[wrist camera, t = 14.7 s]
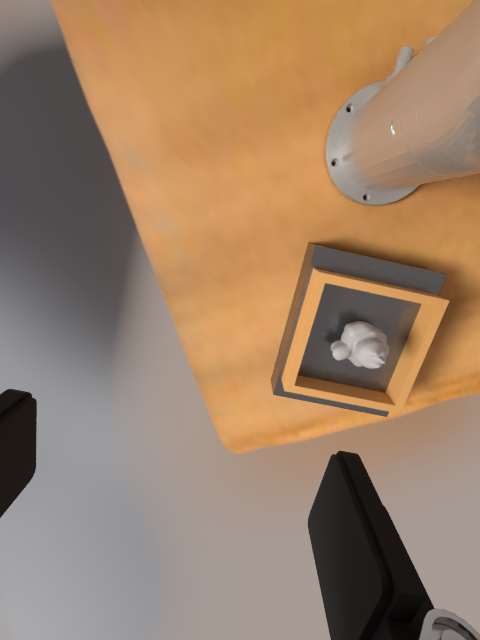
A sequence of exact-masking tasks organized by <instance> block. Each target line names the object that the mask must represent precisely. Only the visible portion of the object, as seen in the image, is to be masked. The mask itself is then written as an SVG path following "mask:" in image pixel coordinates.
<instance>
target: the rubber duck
mask: <svg viewBox="0 0 480 640" xmlns="http://www.w3.org/2000/svg"><path fill="white" fill-rule="evenodd" d="M386 343H387V339H386V335H385V334H384V333H383V332H382V331H381V330H380V329H378V328H376V327H375V326H373V325H371V324H369V323H367V322H363V321H356V322H353V323H349V324H347V325H346V326H345V328H344V332H343V333H342V336H341V340H337V341H335V342H333V343H332V345H331V351H333V352H332V355H333V357H334V358H335V359H336V360H338V361H339V360H344V359H346V358H348V359H349V360H350V361H351V362H352V363H353V364H354V365H355V366H357V367H361V366H364V367H366V368H370V369H373V368H380V367H381V366H382V365H383V364H386V363H385V361H386V358H387V356H388V354H389V346H388V345H387V344H386Z"/></svg>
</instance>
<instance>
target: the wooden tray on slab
mask: <svg viewBox="0 0 480 640" xmlns="http://www.w3.org/2000/svg"><path fill="white" fill-rule="evenodd" d="M446 276H447V275H446V274H442V273H439V272H436V271H432V270H429V269H425V268H420V267H416V266H411V265H407V264H402V263H398V262H393V261H389V260H384V259H380V258H375V257H371V256H366V255H362V254H357V253H353V252H348V251H344V250H339V249H335V248H330V247H326V246H321V245H317V244H312V243H308V247H307V250H306V254H305V257H304V261H303V265H302V268H301V272H300V276H299V279H298V283H297V287H296V290H295V294H294V298H293V301H292V305H291V308H290V312H289V316H288V319H287V323H286V327H285V330H284V334H283V338H282V341H281V345H280V349H279V352H278V356H277V359H276V363H275V367H274V370H273V374H272V378H271V384H272V390H273V395H278V396H283V397H288V398H293V399H298V400H303V401H309V402H314V403H319V404H324V405H329V406H334V407H339V408H344V409H349V410H355V411H360V412H365V413H370V414H375V415H380V416H385V417H387V415H388V413H389V412H393V413H398V414H400V413H401V411H402V409H403V407H404V404H405V402H406V400H407V397H408V395H409V393H410V391H411V388H412V386H413V384H414V381H415V379H416V377H417V374H418V372H419V370H420V368H421V365H422V363H423V361H424V358H425V356H426V354H427V352H428V349H429V347H430V345H431V342H432V340H433V338H434V335H435V333H436V331H437V329H438V326H439V324H440V322H441V319H442V317H443V315H444V313H445V310H446V308H447V306H448V303H449V300H447V299H445V298H442V297H440V296H438V295H439V292H440V290H441V287H442V285H443V283H444V280H445V278H446ZM356 321H363V322H367V323H369V324H371V325H373V326H375V327H376V328H378V329H380V330H381V331H382V332H383V333H384V334H385V335H386V339H387V343H386V344H387V345H388V346H389V354H388V356H387V358H386V361H385V363H386V364H383V365H382V366H381V367H380V368H373V369H370V368H366V367H364V366H361V367H357V366H355V365H354V364H353V363H352V362H351V361H350V360H349V359H348V358H346V359H344V360H339V361H338V360H336V359H335V358H334V357H333V355H332V352H333V351H331V345H332V343H333V342H335V341H337V340H341V336H342V333H343V332H344V328H345V326H346V325H347V324H349V323H353V322H356Z"/></svg>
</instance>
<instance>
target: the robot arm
mask: <svg viewBox="0 0 480 640" xmlns="http://www.w3.org/2000/svg"><path fill="white" fill-rule="evenodd" d="M413 51H414V50H413V48H411V47H402V48H400V49H399V52H398V56H397V59H396V62H395V68H394V71H393V74H392V75H389V76H388V77H387V78H386V79H385V80H384V81H378V82H375V83H372V84H370V85H367V86H365V87H364V88H362V89H360V90H359V91H357V92H356V93H355V94H353V95H352V96H351V97H350V98H349V99H348V100H347V101H346V102H345V103H344V104H343V105H342V107H341V108H340V109H339V111H338V112H337V114H336V115H335V117H334V119H333V121H332V123H331V125H330V127H329V130H328V134H327V138H326V143H325V163H326V167H327V171H328V174H329V176H330V178H331V181H332V183H333V184H334V186H335V187H336V188H337V189H338V191H339V192H340V193H341V194H343V195H344V196H345V197H346V198H348V199H350V200H352V201H353V202H355V203H359V204H362V205H371V206H376V205H385V204H389V203H393V202H395V201H397V200H400V199H402V198H404V197H405V196H407V195H408V194H410V193H411V192H412V191H414V190H415V189H416V188H417V187H418V186H419V185H420V184H425V183H430V182H436V181H442V180H447V179H453V178H459V177H464V176H470V175H475V174H480V0H474V1H473V2H472V3H471V4H470V5H469V6H468V7H467V8H466V9H465V10H464V11H463V12H462V13H461V14H460V15H459V16H458V17H457V18H456V19H455V20H454V21H453V22H452V23H451V24H450V25H449V26H448V27H446V28H445V29H444V30H443V31H442V32H441V33H440V34H439V35H438V36H437V37H430V38H428V39H426V40H425V42H424V45H423V48H422V51H421V52H420V53H419V54H418V55H416V56H415V57H414V58H413V59H412V60H411V57H412V54H413ZM346 108H349V110H350V112H347V111H346ZM332 162H334V163H335V165H334V166H332V165H331V163H332ZM364 195H365V196H366V199H365V200H364V199H363V196H364ZM36 407H37V402H36V399H34V398H32V395H31V393H29V392H25V391H19V390H14V389H8V390H6V391H4V392H3V393H2V394H0V517H1V516H2V515H3V514H4V513H5V511H6V510H7V509H8V508H9V506H10V505H11V504H12V503H13V501H14V500H15V499H16V498H17V496H18V495H19V494H20V493H21V491H22V490H23V489H24V488H25V487H26V485H27V484H28V483H29V482H30V480H31V479H32V477H33V475H34V473H35V469H36V415H37V411H36V410H37V408H36ZM308 529H309V534H310V539H311V544H312V549H313V554H314V559H315V564H316V569H317V574H318V578H319V583H320V588H321V593H322V598H323V603H324V608H325V613H326V618H327V623H328V628H329V633H330V637H331V640H480V635H479V633H478V632H477V631H476V630H475V629H474V628H473V627H472V626H470V625H469V624H468V623H467V622H466V621H465V620H463V619H462V618H460V617H459V616H457V615H456V614H454V613H452V612H449V611H447V610H444V609H434V607H433V605H432V603H431V600H430V598H429V596H428V594H427V592H426V590H425V588H424V586H423V584H422V582H421V580H420V578H419V576H418V573H417V571H416V569H415V567H414V565H413V563H412V561H411V559H410V557H409V555H408V553H407V551H406V549H405V547H404V544H403V542H402V541H401V539H400V537H399V534H398V533H397V530H396V528H395V526H394V524H393V522H392V520H391V518H390V516H389V513H388V512H387V510H386V508H385V507H384V506H383V505H382V503H381V500H380V498H379V496H378V494H377V492H376V490H375V488H374V486H373V484H372V481H371V480H370V477H369V476H368V473H367V471H366V469H365V467H364V465H363V463H362V461H361V458H360V457H359V455H358V454H355V453H350V452H344V451H338V453H337V454H336V455H334V454H333V455H332V456H331V458H330V460H329V463H328V466H327V469H326V471H325V474H324V476H323V479H322V482H321V485H320V487H319V490H318V493H317V495H316V498H315V501H314V503H313V506H312V509H311V511H310V514H309V518H308Z"/></svg>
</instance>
